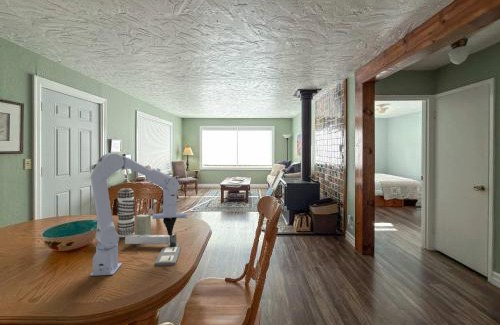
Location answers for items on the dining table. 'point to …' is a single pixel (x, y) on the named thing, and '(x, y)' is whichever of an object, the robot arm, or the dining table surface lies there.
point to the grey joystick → (173, 241)
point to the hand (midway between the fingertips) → (170, 234)
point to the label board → (168, 256)
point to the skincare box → (143, 225)
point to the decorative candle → (125, 212)
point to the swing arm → (147, 239)
